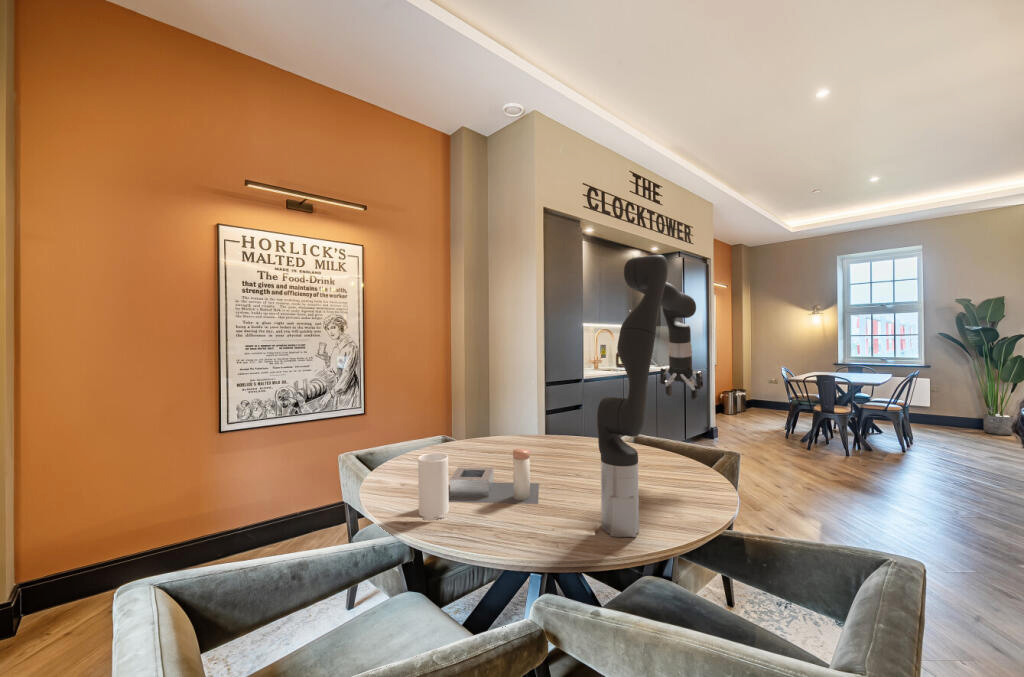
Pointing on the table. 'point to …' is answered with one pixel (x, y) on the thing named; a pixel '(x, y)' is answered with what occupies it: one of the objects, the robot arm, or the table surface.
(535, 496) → the mat
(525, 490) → the peg
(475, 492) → the socket
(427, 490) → the cup
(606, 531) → the robot arm
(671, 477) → the table surface
